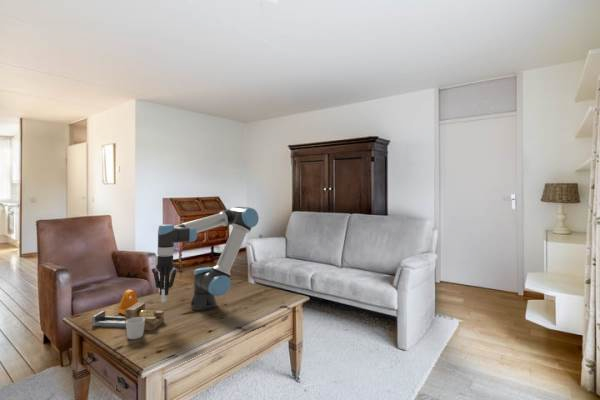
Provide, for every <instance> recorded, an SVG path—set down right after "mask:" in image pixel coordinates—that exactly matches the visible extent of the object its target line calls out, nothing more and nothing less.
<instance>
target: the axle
mask: <svg viewBox="0 0 600 400" xmlns="http://www.w3.org/2000/svg"><path fill="white" fill-rule="evenodd" d="M156 311H157V310H152V311H151V309H150V310H147V309H145V310H138V311H137V316H151V317H156ZM124 317H125V319H126V312H125V315H124Z"/></svg>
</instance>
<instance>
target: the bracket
mask: <svg viewBox="0 0 600 400" xmlns="http://www.w3.org/2000/svg"><path fill="white" fill-rule="evenodd" d="M138 302H139V299H138V293H137V292H136V291H134V290H133V289H127V290H125V291H124V292H123V294H122V297H121V300H120V302H119V305H118V307H117V312H118V313H120V314H122V316H123V315H124V316H125V312H126V309H128V308H130V307H131V306H133V305H134V304H136V303H138Z"/></svg>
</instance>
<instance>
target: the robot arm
mask: <svg viewBox="0 0 600 400" xmlns="http://www.w3.org/2000/svg"><path fill="white" fill-rule="evenodd" d="M259 218H260V217H259V214H258V212H257V210H256V209H254V208H253V207H249V206H248V207H247V206H234V207H231V208H227V209H224V210H221V211H220V212H219V213H215V214H213V215H212V214H211V215H209V216H205V217H202V218H198V219H195V220H191V221H186V222H183V223H180V224H177V225H174V224H169V223H168V224H166V223H165V224H160V225H159V226H158V229H157V253H156V254H157V257H156V259H157V260H156V261H157V262H156V263H157V264H156V266H155V267H153V268H151V272H152V274H153V277H154V282H155V283H154V285H155V287H156V289H157V288H158V289H159V295H160V297H161V298H160V299H161V300H160V302H161V303H165V302H167V298H168V297H167V296H168V295H169V290H170V289H171V288H172V287H173V286H174V282H175V279H176V275H177V272H178V271H179V269H178V268H176V267H175V266H174V250H175V249H174V246H175V245H174V244H178V243H191V242H195V241H196V240H197V238H198V234H199V233H201V232H204V231H208V230H211V229H214V228H217V227H221V226H224V227H226V226H232V230H231V232H230V234H229V235H228V238H227V241H226V243H225V245H224V247H223V249H222V252H221V254H220V256H219V258H218V260H217V262H216V264H215V265H214V266H212V267H211V266H210V267H200V268H195V270H194V272H193V295H192V297H191V301H190V303H189V307H190V309H191V310H193V311H199V310H202V311H208V310H207V309H209V310H212V309H211V308H213V309H214V307H215V306H216V307H217V303H218V301H217V299H216V296H217V297H220V296H223V295H225V294H226V293H227V292H229V289H230V288H231V286H232V285H231V276H232V274H231V269H232V267H233V264H234V262H235V260H236V258H237V256H238V253H239V251H240V249H241V247H242V244H243V242H244V240H245V237H246V235H247V234H249V233H250V232H251V230H252V229H253V228H254V227H256V226H257V225H258V223H259ZM216 307H215V308H216Z"/></svg>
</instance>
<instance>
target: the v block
mask: <svg viewBox="0 0 600 400" xmlns="http://www.w3.org/2000/svg"><path fill="white" fill-rule="evenodd" d="M91 319H92V320H91V321H92V322H91V323H92V326H91V327H95V326H101V327H102V328H103V327H104V328H122V329H123V328H125V329H126V319H125V316H114V315H113V316H111V315H106V310H101V311H99V312H98V313H96V314H94V315H93V316H92V318H91ZM101 327H100V328H101Z"/></svg>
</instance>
